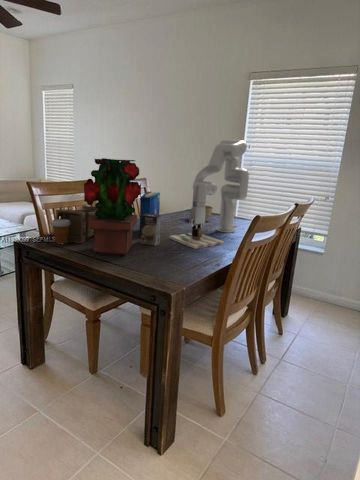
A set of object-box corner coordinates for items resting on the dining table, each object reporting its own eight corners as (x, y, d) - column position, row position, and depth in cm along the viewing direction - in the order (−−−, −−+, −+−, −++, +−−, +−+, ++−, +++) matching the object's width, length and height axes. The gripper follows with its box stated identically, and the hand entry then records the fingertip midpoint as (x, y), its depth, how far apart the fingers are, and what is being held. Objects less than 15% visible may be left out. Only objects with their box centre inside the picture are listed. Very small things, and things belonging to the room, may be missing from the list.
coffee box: (140, 243, 183) (141, 214, 178) (145, 240, 188) (146, 213, 184) (155, 245, 180) (156, 217, 176) (160, 243, 186) (161, 215, 181)
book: (149, 237, 195) (150, 195, 189) (137, 236, 197) (139, 194, 190) (158, 230, 216) (160, 191, 210) (148, 228, 217) (149, 190, 211)
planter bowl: (186, 219, 255) (187, 205, 252) (200, 217, 266) (201, 204, 263) (201, 223, 244) (202, 209, 241) (215, 221, 255) (217, 207, 252)
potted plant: (97, 244, 176) (97, 157, 164) (139, 247, 176) (141, 160, 164) (85, 256, 155) (83, 158, 143) (132, 260, 154) (134, 161, 143)
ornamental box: (92, 231, 212) (89, 203, 208) (116, 231, 206) (114, 202, 203) (57, 243, 179) (52, 209, 175) (85, 243, 174) (81, 208, 170)
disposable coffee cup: (50, 245, 169) (49, 222, 166) (54, 240, 178) (53, 218, 175) (69, 245, 170) (69, 222, 167) (72, 240, 180) (72, 219, 176)
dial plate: (196, 234, 210) (197, 232, 210) (223, 243, 192) (224, 241, 192) (169, 238, 197) (169, 235, 196) (195, 248, 179) (195, 245, 178)
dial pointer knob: (203, 238, 193) (203, 228, 192) (196, 239, 190) (197, 229, 189) (188, 233, 202) (189, 224, 201) (182, 234, 199) (183, 225, 197)
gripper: (201, 202, 197) (199, 232, 202) (185, 204, 185) (182, 236, 190) (212, 204, 193) (209, 234, 198) (195, 206, 180) (193, 238, 185)
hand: (196, 235), depth 194 cm, fingers closed on dial pointer knob, 3 cm apart
